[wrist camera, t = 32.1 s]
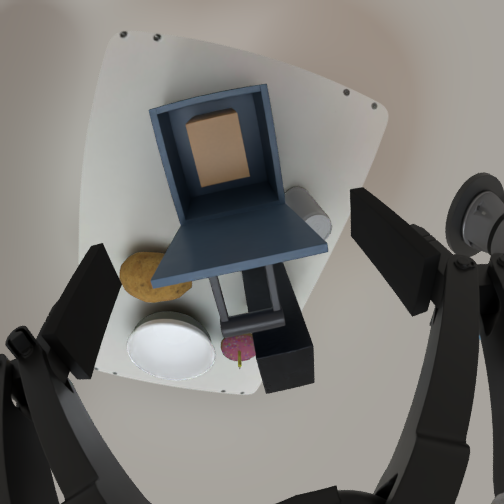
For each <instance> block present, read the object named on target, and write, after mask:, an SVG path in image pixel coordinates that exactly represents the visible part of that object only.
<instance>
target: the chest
mask: <svg viewBox="0 0 504 504" xmlns="http://www.w3.org/2000/svg"><path fill="white" fill-rule="evenodd" d="M227 108H232V109H234V110H235V111H236V112H237V114H238V119H239V124H240V128H241V133H242V138H243V143H244V148H245V153H246V158H247V163H248V168H249V173H250V177H245V178H241V179H236V180H232V181H227V182H223V183H218V184H214V185H210V186H206V187H201V184H200V180H199V176H198V172H197V169H196V165H195V161H194V157H193V153H192V149H191V145H190V141H189V137H188V133H187V129H186V124H187V122H188V121H189V120H190V119H191V118H192V117H193V116H196V115H200V114H204V113H209V112H213V111H217V110H222V109H227ZM149 113H150V118H151V122H152V126H153V129H154V133H155V137H156V141H157V145H158V149H159V152H160V156H161V160H162V163H163V167H164V170H165V174H166V178H167V181H168V185H169V188H170V191H171V195H172V198H173V201H174V205H175V208H176V211H177V215H178V218H179V221H180V224H181V226H184V225H188V224H193V223H197V222H202V221H206V220H210V219H215V218H219V217H224V216H229V215H233V214H238V213H243V212H247V211H252V210H257V209H262V208H267V207H272V206H277V205H282V204H286V203H285V196H284V189H283V181H282V175H281V168H280V161H279V154H278V148H277V142H276V135H275V129H274V123H273V117H272V111H271V105H270V99H269V94H268V88H267V84H261V85H255V86H249V87H243V88H237V89H231V90H226V91H221V92H216V93H212V94H207V95H203V96H198V97H194V98H190V99H186V100H182V101H178V102H174V103H171V104H167V105H164V106H160V107H157V108H153V109H150V110H149Z"/></svg>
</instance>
